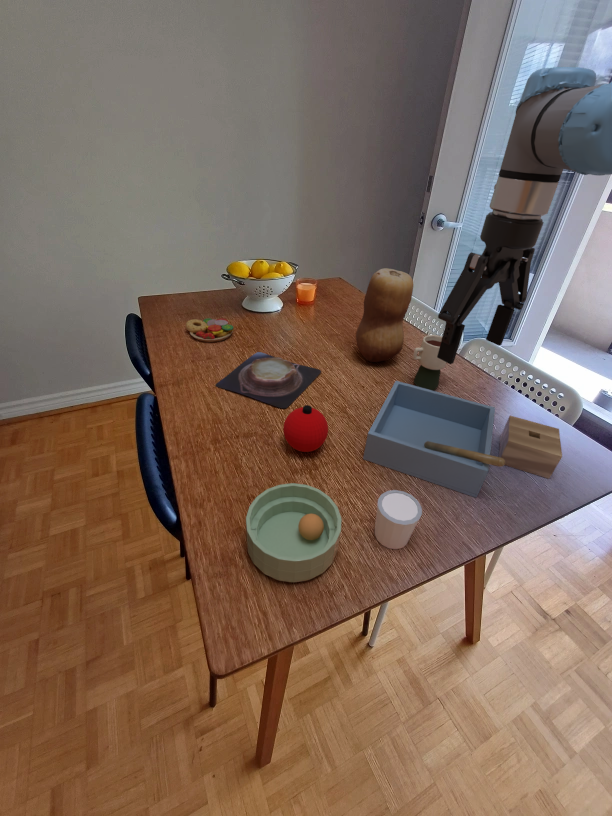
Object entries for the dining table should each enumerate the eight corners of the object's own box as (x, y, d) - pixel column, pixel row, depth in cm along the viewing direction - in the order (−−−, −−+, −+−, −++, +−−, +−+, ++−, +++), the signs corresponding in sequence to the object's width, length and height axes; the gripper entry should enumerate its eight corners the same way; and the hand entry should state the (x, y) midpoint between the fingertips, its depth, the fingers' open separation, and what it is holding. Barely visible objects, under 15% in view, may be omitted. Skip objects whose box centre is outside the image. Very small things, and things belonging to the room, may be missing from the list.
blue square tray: (476, 498, 73) (488, 471, 69) (362, 459, 80) (367, 433, 76) (485, 431, 90) (495, 407, 86) (390, 404, 96) (395, 380, 93)
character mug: (438, 378, 108) (451, 334, 101) (450, 392, 102) (465, 347, 95) (400, 379, 106) (411, 334, 99) (410, 394, 101) (422, 348, 93)
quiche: (258, 352, 114) (258, 339, 112) (322, 371, 107) (323, 358, 105) (213, 385, 98) (212, 371, 96) (284, 411, 92) (285, 396, 89)
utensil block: (549, 479, 78) (562, 456, 75) (497, 463, 81) (508, 440, 78) (547, 450, 86) (559, 428, 82) (500, 436, 89) (509, 415, 85)
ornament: (283, 461, 78) (284, 421, 72) (282, 432, 85) (283, 393, 79) (328, 461, 79) (333, 421, 73) (323, 432, 86) (327, 394, 80)
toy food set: (182, 330, 123) (181, 320, 121) (221, 321, 130) (220, 312, 128) (201, 347, 114) (200, 336, 112) (241, 337, 121) (241, 327, 119)
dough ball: (309, 509, 61) (330, 524, 61) (306, 507, 65) (326, 522, 65) (294, 531, 60) (315, 547, 60) (292, 528, 64) (312, 543, 64)
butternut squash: (402, 371, 110) (423, 281, 95) (354, 368, 110) (367, 278, 95) (394, 348, 121) (412, 265, 107) (350, 345, 121) (362, 261, 106)
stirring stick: (429, 444, 83) (508, 463, 68) (424, 449, 83) (503, 469, 67) (425, 439, 83) (505, 456, 67) (421, 444, 82) (500, 463, 67)
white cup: (385, 558, 62) (394, 530, 58) (362, 524, 67) (369, 496, 63) (421, 544, 64) (431, 516, 60) (396, 512, 69) (404, 484, 65)
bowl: (315, 601, 55) (319, 577, 52) (229, 560, 60) (227, 535, 56) (349, 526, 66) (354, 502, 63) (274, 496, 70) (274, 472, 67)
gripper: (536, 206, 64) (493, 328, 76) (436, 213, 52) (403, 358, 64) (584, 214, 59) (529, 343, 71) (487, 225, 47) (441, 379, 59)
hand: (470, 351), depth 68 cm, fingers open, 13 cm apart
